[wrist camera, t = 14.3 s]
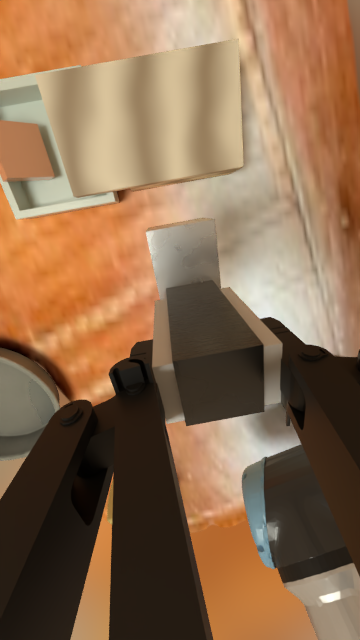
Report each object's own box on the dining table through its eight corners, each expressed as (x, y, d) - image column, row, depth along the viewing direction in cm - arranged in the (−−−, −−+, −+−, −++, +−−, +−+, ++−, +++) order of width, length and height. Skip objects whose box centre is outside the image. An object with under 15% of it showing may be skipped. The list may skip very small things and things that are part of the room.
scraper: (202, 217, 17) (281, 227, 6) (215, 335, 21) (275, 466, 10) (148, 227, 17) (129, 254, 6) (172, 343, 21) (187, 482, 10)
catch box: (90, 83, 26) (80, 64, 23) (119, 202, 31) (115, 201, 28) (-17, 102, 26) (-42, 86, 22) (30, 218, 31) (16, 219, 28)
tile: (-18, 118, 22) (-21, 125, 24) (7, 178, 24) (3, 182, 26) (37, 123, 25) (31, 130, 27) (55, 176, 27) (49, 180, 29)
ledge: (223, 71, 26) (238, 38, 21) (229, 174, 30) (243, 166, 26) (58, 101, 26) (34, 74, 21) (87, 199, 30) (73, 197, 25)
